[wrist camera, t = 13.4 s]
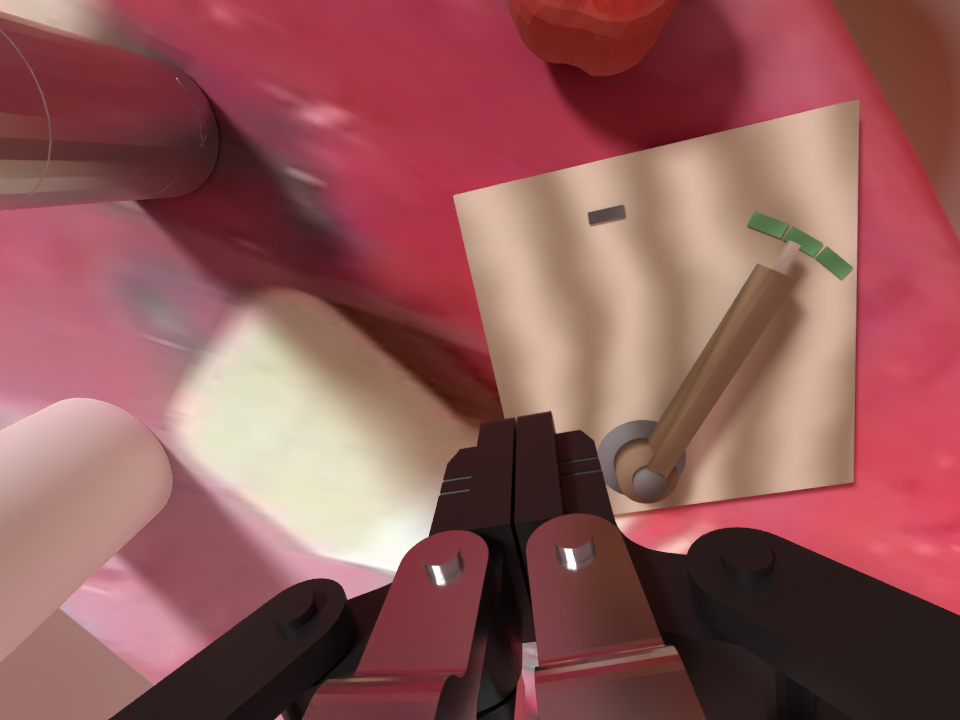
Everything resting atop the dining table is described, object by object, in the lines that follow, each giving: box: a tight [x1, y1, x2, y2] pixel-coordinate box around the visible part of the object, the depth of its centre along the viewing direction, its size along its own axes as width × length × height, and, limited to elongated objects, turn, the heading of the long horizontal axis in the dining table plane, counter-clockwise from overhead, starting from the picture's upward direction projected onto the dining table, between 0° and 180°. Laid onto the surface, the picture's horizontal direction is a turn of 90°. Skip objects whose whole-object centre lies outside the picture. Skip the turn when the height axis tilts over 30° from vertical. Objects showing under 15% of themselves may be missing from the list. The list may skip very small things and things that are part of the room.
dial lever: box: [613, 240, 801, 504], centre depth 37 cm, size 4×21×3 cm, turn 157°
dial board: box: [453, 99, 859, 515], centre depth 39 cm, size 26×28×2 cm
